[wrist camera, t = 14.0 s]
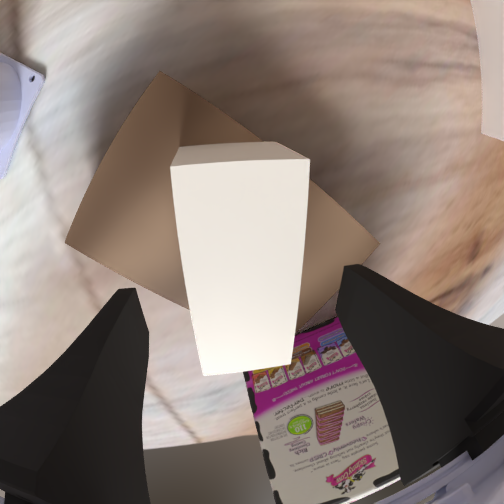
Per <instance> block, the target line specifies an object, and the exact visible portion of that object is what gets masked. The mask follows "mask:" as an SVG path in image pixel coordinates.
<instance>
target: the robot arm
mask: <svg viewBox="0 0 504 504" xmlns="http://www.w3.org/2000/svg"><path fill="white" fill-rule="evenodd" d="M33 76H35V79H34V81H33V82H32V77H33ZM44 81H45V77H44V75H43V74H41V73H39V72H37V71H35V70H33V69H32V68H30V67H28V66H26V65H24V64H22V63H20V62H18V61H16V60H14V59H12V58H10V57H8V56H6V55H4V54H2V53H0V179H2V178H4V177H5V176H6V173H7V170H8V167H9V164H10V161H11V158H12V155H13V152H14V149H15V146H16V144H17V141H18V138H19V136H20V133H21V131H22V128H23V126H24V124H25V121H26V119H27V117H28V115H29V112H30V110H31V108H32V106H33V104H34V102H35V100H36V98H37V96H38V94H39V92H40V90H41V88H42V86H43V84H44ZM335 310H336V313H337V315H338V318H339V321H340V323H341V326H342V328H343V330H344V333H345V334H346V336H347V338H348V340H349V342H350V343H351V345H352V347H353V349H354V350H355V352H356V354H357V356H358V357H359V359H360V361H361V363H362V364H363V366H364V368H365V370H366V372H367V373H368V375H369V377H370V379H371V381H372V383H373V385H374V387H375V390H376V392H377V395H378V397H379V400H380V402H381V405H382V407H383V410H384V413H385V416H386V419H387V422H388V425H389V429H390V432H391V436H392V440H393V444H394V447H395V452H396V457H397V462H398V468H399V475H400V478H401V481H402V483H403V485H404V486H405V485H407V484H409V483H411V482H413V481H414V480H416V479H418V478H420V477H422V476H423V475H425V474H427V473H429V472H430V471H432V470H434V469H435V468H437V467H438V466H441V469H439V470H437V471H436V472H434V473H432V474H431V475H429V476H427V477H426V478H424V479H422V480H420V481H419V482H417V483H415V484H413V485H411V486H409V487H407V488H406V489H404V490H402V491H400V492H398V493H396V494H394V495H392V496H389V497H388V498H385V499H383V500H381V501H378V502H376V503H374V504H416V503H418V502H420V501H421V500H423V499H425V498H426V497H428V496H429V495H431V494H433V493H435V492H436V493H435V497H434V499H433V500H431V501H429V502H427V503H425V504H504V329H502V328H498V327H494V326H490V325H486V324H483V323H480V322H477V321H474V320H471V319H468V318H465V317H462V316H460V315H457V314H455V313H452V312H450V311H448V310H445V309H443V308H441V307H439V306H437V305H435V304H432V303H431V302H429V301H427V300H425V299H423V298H421V297H419V296H417V295H415V294H413V293H411V292H410V291H408V290H406V289H404V288H403V287H401V286H399V285H397V284H395V283H394V282H392V281H390V280H388V279H387V278H385V277H383V276H381V275H380V274H378V273H376V272H374V271H372V270H370V269H369V268H367V267H364V266H362V265H360V264H354V265H346V266H344V268H343V274H342V279H341V284H340V289H339V294H338V299H337V304H336V309H335ZM148 359H149V331H148V328H147V324H146V321H145V318H144V315H143V312H142V308H141V305H140V302H139V298H138V295H137V291H136V288H125V289H118V290H117V291H116V292H115V294H114V295H113V296H112V297H111V298H110V299H109V301H108V302H107V303H106V304H105V305H104V307H103V308H102V309H101V310H100V312H99V313H98V314H97V315H96V316H95V318H94V319H93V320H92V321H91V322H90V324H89V325H88V326H87V327H86V328H85V330H84V331H83V332H82V333H81V334H80V335H79V336H78V337H77V339H76V340H75V341H74V342H73V343H72V344H71V345H70V347H69V348H68V349H67V350H66V351H65V352H64V353H63V354H62V355H61V356H60V357H59V358H58V359H57V360H56V361H55V362H54V363H53V364H52V365H51V366H50V367H49V368H48V369H47V370H46V371H45V372H44V373H43V374H41V375H40V376H39V377H38V378H37V379H36V380H34V381H33V382H32V383H31V384H30V385H28V386H27V387H26V388H25V389H24V390H23V391H21V392H20V393H19V394H17V395H16V396H15V397H13V398H12V399H11V400H9V401H8V402H6V403H5V404H3V405H2V406H0V489H1V490H3V491H5V498H3V497H1V496H0V504H150V499H149V493H148V488H147V481H146V474H145V466H144V456H143V442H142V410H143V400H144V391H145V383H146V375H147V367H148Z"/></svg>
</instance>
